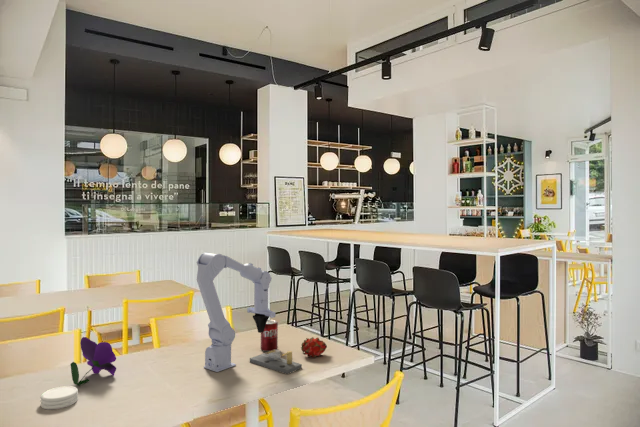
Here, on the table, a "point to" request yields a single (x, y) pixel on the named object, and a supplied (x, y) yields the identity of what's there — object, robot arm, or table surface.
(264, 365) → the cube slider plate
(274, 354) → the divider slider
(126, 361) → the table surface
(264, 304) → the robot arm
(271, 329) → the soda can
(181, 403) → the table surface
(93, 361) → the flower
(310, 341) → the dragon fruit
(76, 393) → the coaster
